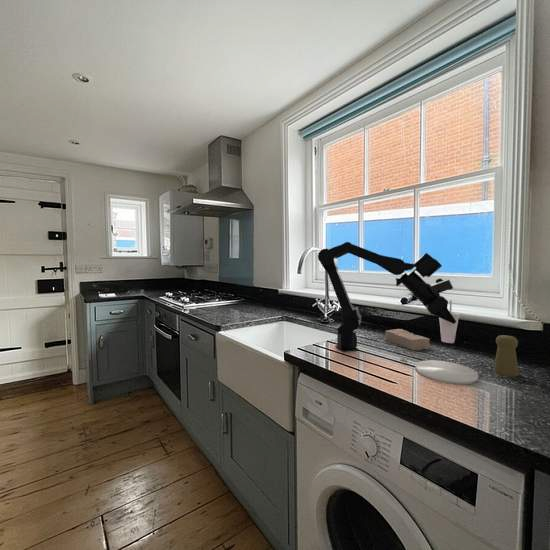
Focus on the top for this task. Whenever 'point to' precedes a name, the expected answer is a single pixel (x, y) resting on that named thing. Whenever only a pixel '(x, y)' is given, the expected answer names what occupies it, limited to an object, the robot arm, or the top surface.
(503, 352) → the cork
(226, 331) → the top surface
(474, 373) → the plate
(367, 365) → the top surface
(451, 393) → the top surface
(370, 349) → the top surface
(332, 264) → the robot arm
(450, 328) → the smoothie
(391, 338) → the brick
